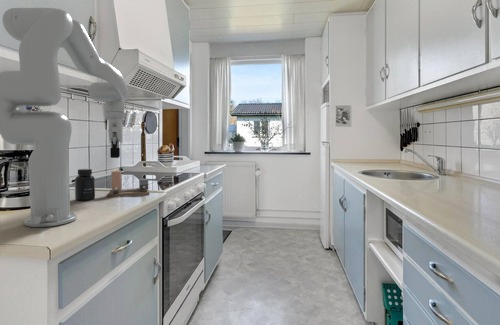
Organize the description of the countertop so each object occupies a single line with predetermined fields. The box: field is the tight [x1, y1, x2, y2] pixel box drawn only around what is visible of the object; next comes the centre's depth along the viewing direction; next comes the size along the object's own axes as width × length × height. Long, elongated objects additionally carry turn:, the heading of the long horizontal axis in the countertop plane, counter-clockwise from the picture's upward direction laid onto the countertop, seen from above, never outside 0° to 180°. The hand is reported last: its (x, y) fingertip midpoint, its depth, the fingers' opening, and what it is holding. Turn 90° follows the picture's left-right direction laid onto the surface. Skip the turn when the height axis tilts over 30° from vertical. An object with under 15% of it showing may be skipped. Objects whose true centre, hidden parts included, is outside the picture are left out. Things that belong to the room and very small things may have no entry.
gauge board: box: [107, 178, 150, 198], centre depth 129 cm, size 9×16×6 cm, turn 112°
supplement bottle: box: [74, 168, 96, 202], centre depth 117 cm, size 7×7×12 cm
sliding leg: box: [110, 170, 122, 190], centre depth 126 cm, size 6×4×8 cm, turn 22°
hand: (115, 157), depth 126 cm, fingers open, 9 cm apart
